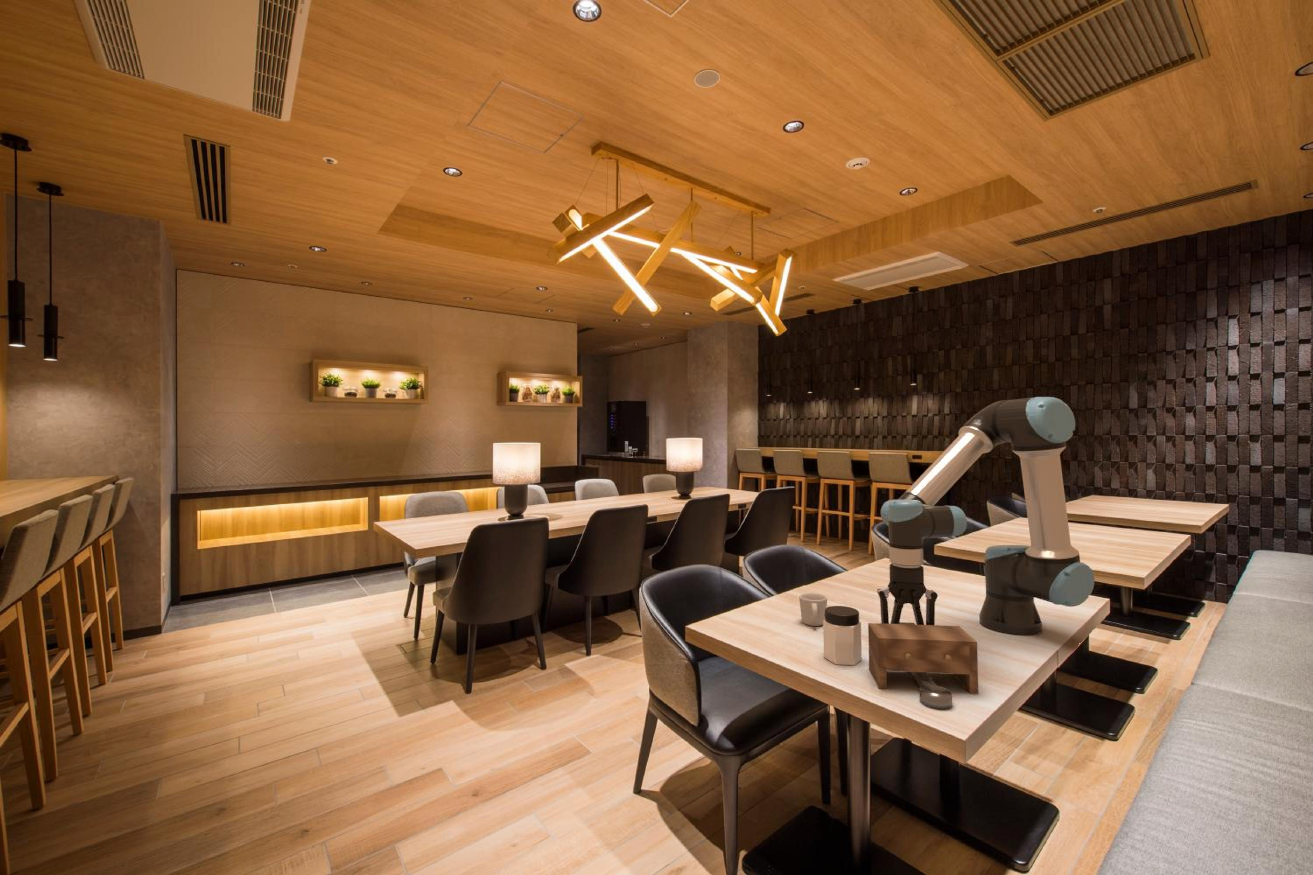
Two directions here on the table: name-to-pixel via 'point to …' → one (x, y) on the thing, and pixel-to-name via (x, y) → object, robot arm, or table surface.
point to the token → (935, 697)
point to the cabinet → (922, 652)
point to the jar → (842, 635)
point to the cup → (813, 608)
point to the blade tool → (921, 677)
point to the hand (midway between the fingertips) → (908, 661)
